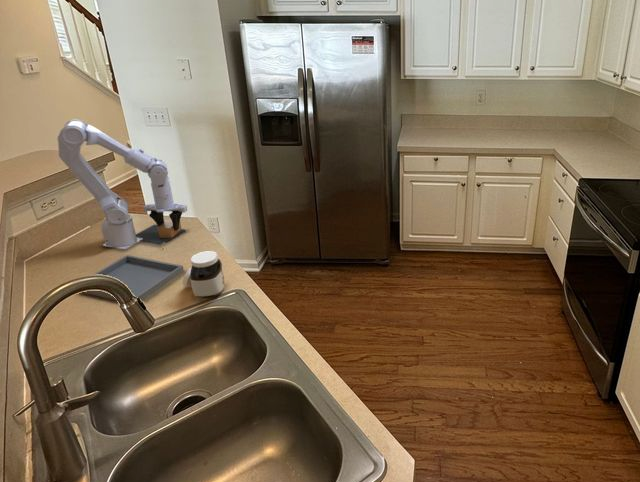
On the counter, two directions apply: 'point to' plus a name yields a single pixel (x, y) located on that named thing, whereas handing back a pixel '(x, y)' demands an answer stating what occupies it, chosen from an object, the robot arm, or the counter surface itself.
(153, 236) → the mat
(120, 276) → the tray
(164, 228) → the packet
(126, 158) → the robot arm
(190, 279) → the spread jar
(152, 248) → the counter surface
